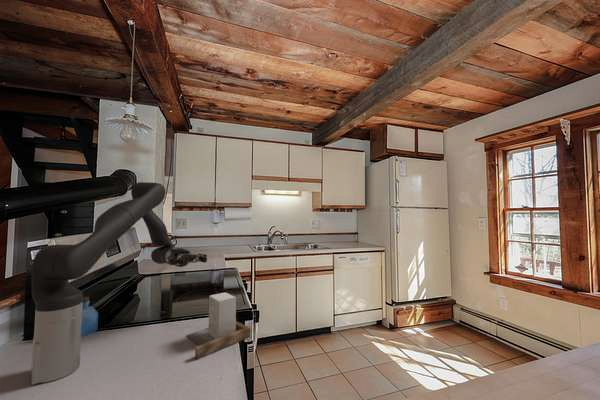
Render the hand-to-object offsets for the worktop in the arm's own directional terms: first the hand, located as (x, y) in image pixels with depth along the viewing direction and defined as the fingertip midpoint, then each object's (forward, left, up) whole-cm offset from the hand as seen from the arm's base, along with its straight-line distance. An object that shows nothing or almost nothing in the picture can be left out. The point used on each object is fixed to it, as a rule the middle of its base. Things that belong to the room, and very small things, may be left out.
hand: (195, 261), depth 99 cm
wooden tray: (-1, -16, -24) cm, 29 cm away
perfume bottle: (-30, +21, -24) cm, 44 cm away
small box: (+2, -17, -23) cm, 29 cm away
